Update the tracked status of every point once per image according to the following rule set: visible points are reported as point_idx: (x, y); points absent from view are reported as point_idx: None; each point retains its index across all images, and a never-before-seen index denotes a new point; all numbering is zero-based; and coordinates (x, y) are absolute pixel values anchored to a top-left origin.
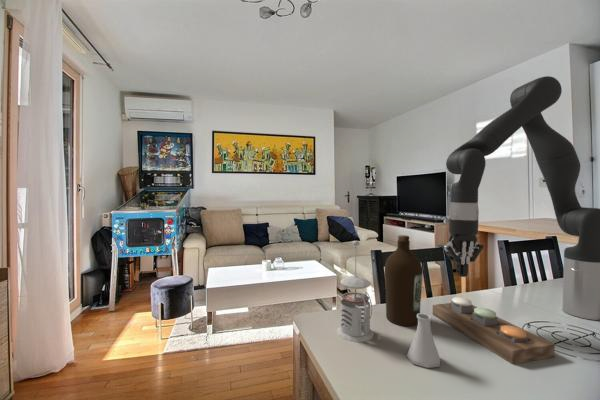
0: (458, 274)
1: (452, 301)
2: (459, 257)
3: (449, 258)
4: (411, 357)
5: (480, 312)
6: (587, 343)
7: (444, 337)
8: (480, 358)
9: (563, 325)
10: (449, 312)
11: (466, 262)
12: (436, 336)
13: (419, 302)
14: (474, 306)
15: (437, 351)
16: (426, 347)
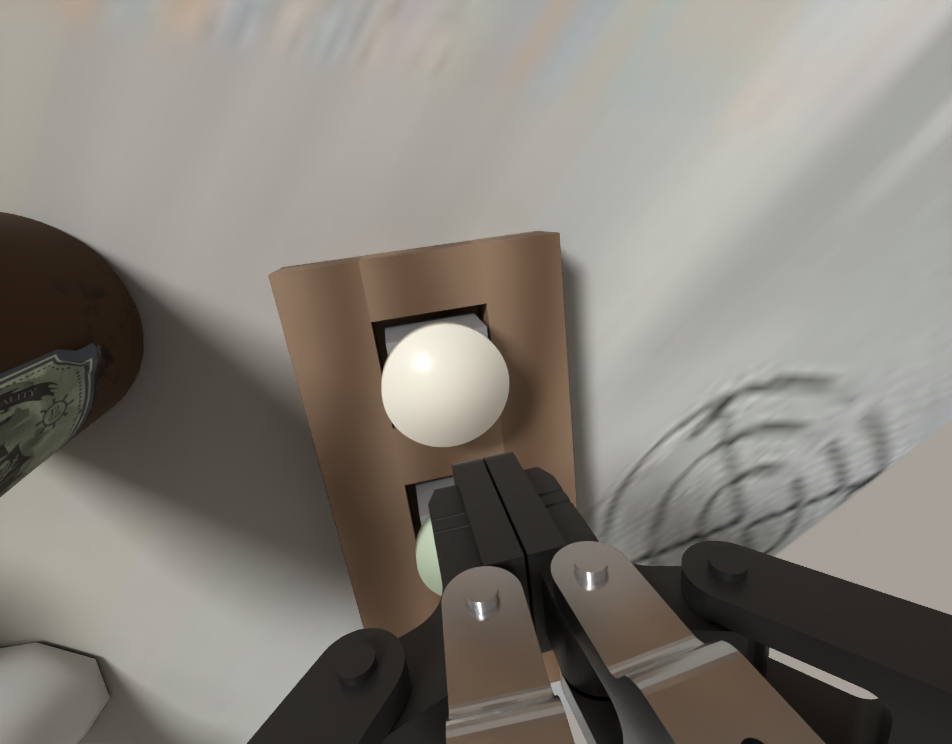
0: (455, 481)
1: (385, 364)
2: (537, 675)
3: (288, 695)
4: None
5: (435, 569)
6: (765, 547)
7: (221, 531)
8: (294, 662)
9: (844, 420)
10: (327, 408)
11: (565, 689)
12: (181, 524)
13: (28, 472)
14: (557, 321)
15: (73, 736)
16: None
